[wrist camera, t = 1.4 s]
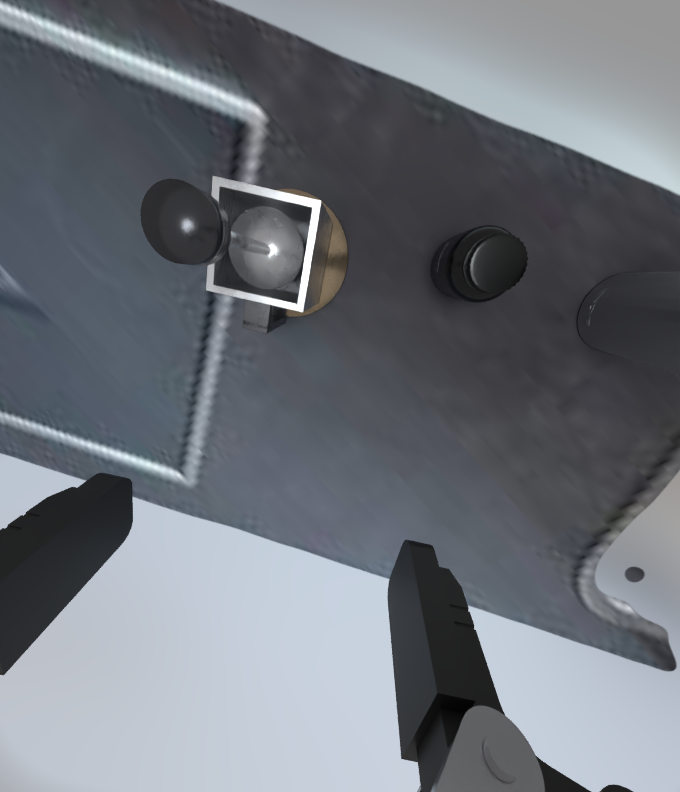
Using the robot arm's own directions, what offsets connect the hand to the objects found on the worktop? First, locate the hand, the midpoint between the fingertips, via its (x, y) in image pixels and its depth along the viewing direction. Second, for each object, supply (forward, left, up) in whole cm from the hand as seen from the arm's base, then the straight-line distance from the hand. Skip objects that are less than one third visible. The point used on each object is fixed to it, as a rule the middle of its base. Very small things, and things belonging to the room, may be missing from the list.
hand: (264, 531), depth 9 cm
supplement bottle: (-12, -11, -35) cm, 38 cm away
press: (+8, -8, -34) cm, 36 cm away
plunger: (+8, -8, -25) cm, 27 cm away
